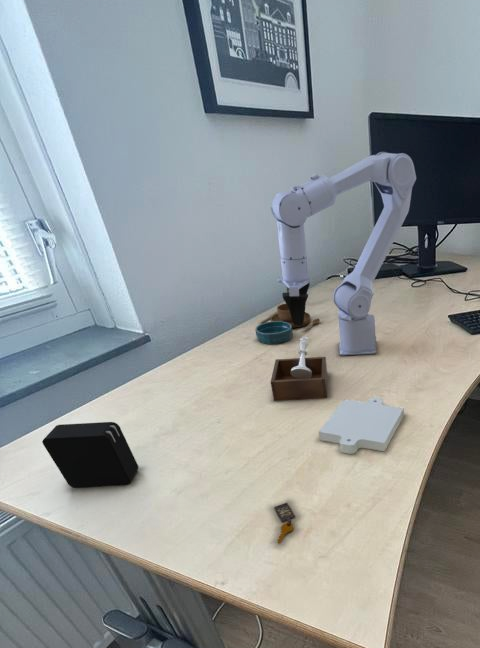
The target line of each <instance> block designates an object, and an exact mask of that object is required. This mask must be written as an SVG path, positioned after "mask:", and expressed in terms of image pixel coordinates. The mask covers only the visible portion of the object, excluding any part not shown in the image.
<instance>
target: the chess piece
mask: <svg viewBox="0 0 480 648" xmlns="http://www.w3.org/2000/svg"><path fill="white" fill-rule="evenodd" d="M307 341H309V338H308V337H306V335H302V337H300V338H299V343H298V345H299V350H298V355H300V356H299V358H300V361H299V365H298V366H296V367H293V368H292V369H291V372H290V374H291V375H292V376H293V377H295V378H297V379H307V378H311V377H312V371H311V370H310V369H309V368H307V367H306V366H305V358H306V356H307V355H309V354H308V351H307V348H308V346H309V343H308V342H307Z"/></svg>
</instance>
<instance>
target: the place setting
mask: <svg viewBox="0 0 480 648" xmlns="http://www.w3.org/2000/svg"><path fill="white" fill-rule="evenodd" d="M286 293H289V291H288V289H287V288H286ZM268 320H270V322H272V321H283V322H288V323H290V324H291V325H292V329H297V328H298V329H299V328H301V327H304V326H305V325H307V324H308V323H310V320H311V315H310V313H308V312H306V311H305V314H304V321H303V325H294V324H293V321H292V318H291V314H290V311H289V308H288V306H287V304H286V303H281V304H279V305H278V306H277V307H276V311H275V312H274V313H273V314H272V315H270V316H269V317H268V318H266V319H264V320H262V321H261V322H260V324H262V323H266V322H268ZM320 320H321V319H320V318H316V319H313V320H312V323H311V324H310V325H308V326H307V327H306V328H305V329H304V331H308V330H309V329H310V328H311V327H312V326H313V325H316V324H318V323H319V322H320Z"/></svg>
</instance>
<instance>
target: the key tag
mask: <svg viewBox="0 0 480 648" xmlns="http://www.w3.org/2000/svg"><path fill="white" fill-rule="evenodd" d="M273 509H274V510H275V512H276V514H277V516H278V518H279V520H280V521H281V522H285V521H287V522H285V523H283V524H282V525H281V526H280V530H281V531H280V534H279V536H278V538H277V543H279V544H280V543H281V542H282V540H283V538H284V537H285V535H288V533H290V532H291V531H292V530H293V529H294V525H293V524H292V519H293V518H296V516H295V514H294V512H293V510H292V508H291V507H290V505H289V503H288V502H284V503H282V504H279V505H275V506H274V507H273Z"/></svg>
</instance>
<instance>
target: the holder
mask: <svg viewBox="0 0 480 648" xmlns="http://www.w3.org/2000/svg"><path fill="white" fill-rule="evenodd" d="M299 361H300V357H295V358H281V359H280V358H277V359H275V361H274V364H273V369H272V374H271V378H270V387H271V391H272V396H273V401H275V402H276V401H292V400H293V401H294V400H295V401H296V400H311V399H326V398H328V366H327V357H326V356H315V357H312V356H311V357H305V366H306V367H307V368H309V369H310V370H311V371H312V377H311V378H307V379H297V378H295V377H293V376H292V375H291V374H290V372H291V369H292V368H293V367H296V366H298V365H299Z"/></svg>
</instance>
